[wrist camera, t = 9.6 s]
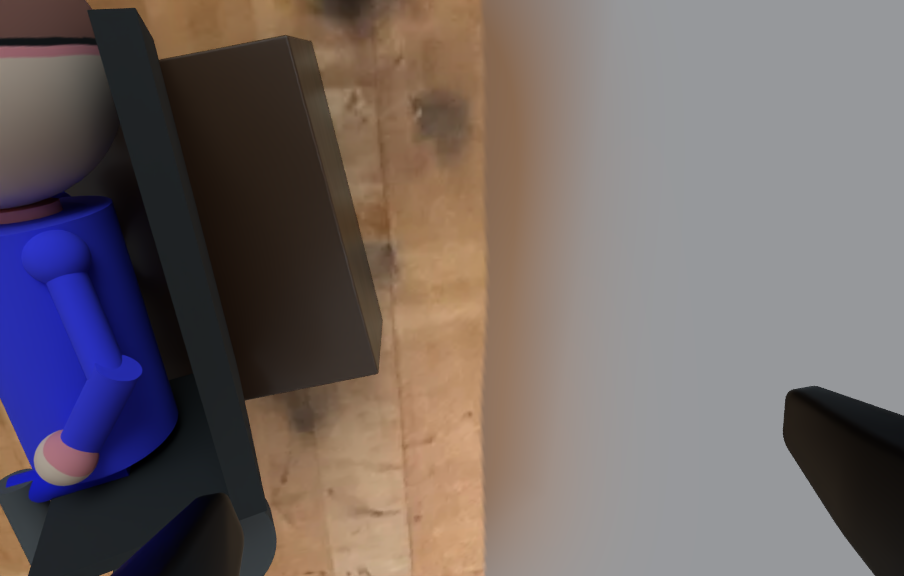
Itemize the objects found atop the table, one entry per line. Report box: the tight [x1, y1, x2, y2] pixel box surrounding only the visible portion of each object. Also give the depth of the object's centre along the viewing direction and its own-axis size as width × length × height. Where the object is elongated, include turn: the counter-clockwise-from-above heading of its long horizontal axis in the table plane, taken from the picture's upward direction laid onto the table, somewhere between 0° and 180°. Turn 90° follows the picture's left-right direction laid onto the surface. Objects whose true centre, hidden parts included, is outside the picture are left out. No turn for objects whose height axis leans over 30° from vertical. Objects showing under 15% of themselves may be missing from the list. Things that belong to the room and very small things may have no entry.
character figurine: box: [0, 0, 276, 576], centre depth 12 cm, size 8×7×15 cm
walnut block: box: [64, 35, 383, 400], centre depth 18 cm, size 10×10×4 cm
